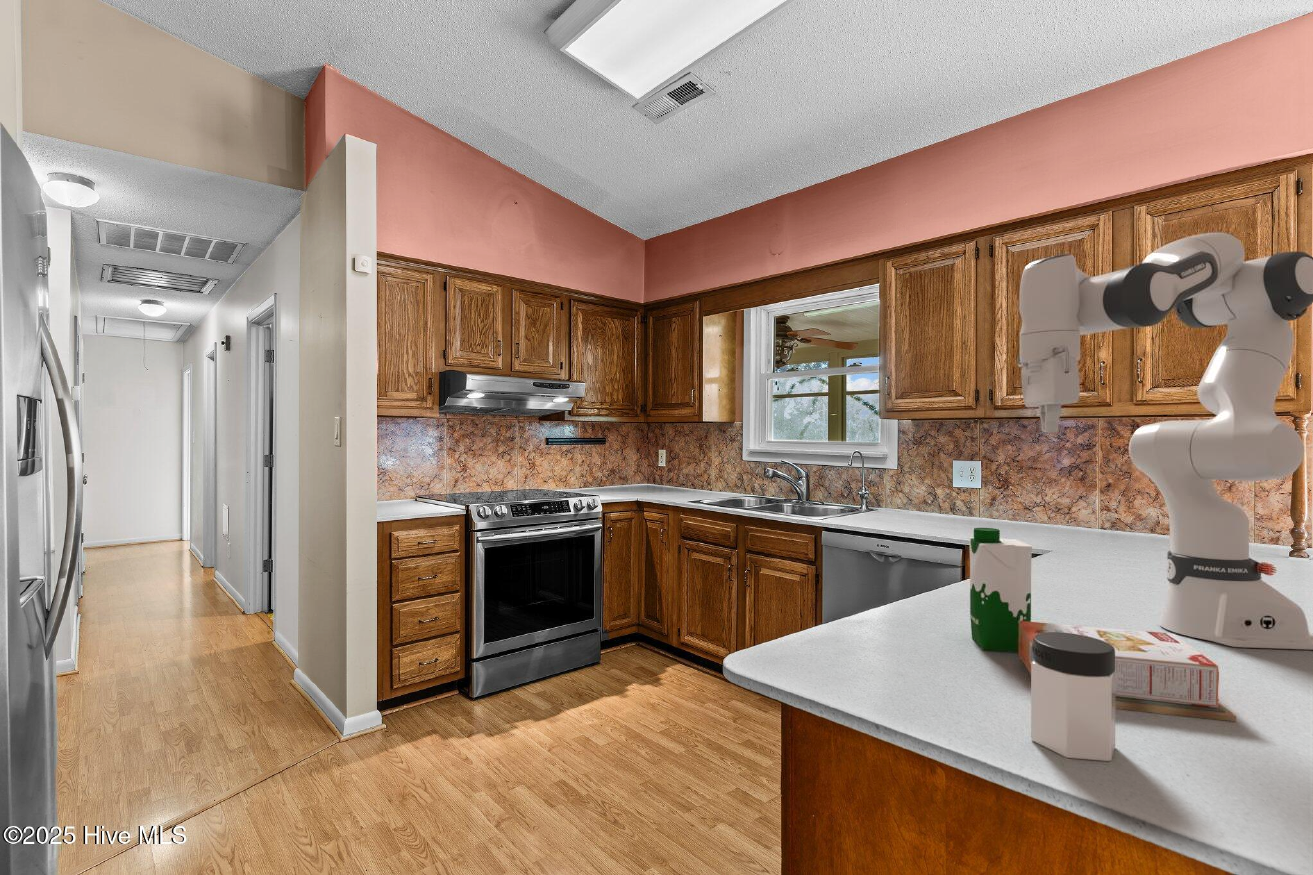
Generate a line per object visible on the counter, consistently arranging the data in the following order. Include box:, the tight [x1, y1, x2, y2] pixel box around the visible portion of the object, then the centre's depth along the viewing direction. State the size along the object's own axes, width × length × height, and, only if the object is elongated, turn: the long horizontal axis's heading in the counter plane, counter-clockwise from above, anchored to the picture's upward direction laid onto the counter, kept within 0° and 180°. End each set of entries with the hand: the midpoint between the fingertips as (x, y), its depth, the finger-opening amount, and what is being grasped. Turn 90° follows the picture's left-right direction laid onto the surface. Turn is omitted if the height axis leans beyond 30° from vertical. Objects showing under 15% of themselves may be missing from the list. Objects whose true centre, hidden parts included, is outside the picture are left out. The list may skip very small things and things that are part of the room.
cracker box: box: [1018, 621, 1220, 708], centre depth 93 cm, size 14×6×21 cm
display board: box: [1115, 696, 1237, 722], centre depth 93 cm, size 20×18×1 cm
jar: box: [1030, 632, 1116, 762], centre depth 76 cm, size 9×8×12 cm
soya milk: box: [968, 527, 1033, 654], centre depth 112 cm, size 9×9×20 cm
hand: (1049, 432), depth 111 cm, fingers closed
